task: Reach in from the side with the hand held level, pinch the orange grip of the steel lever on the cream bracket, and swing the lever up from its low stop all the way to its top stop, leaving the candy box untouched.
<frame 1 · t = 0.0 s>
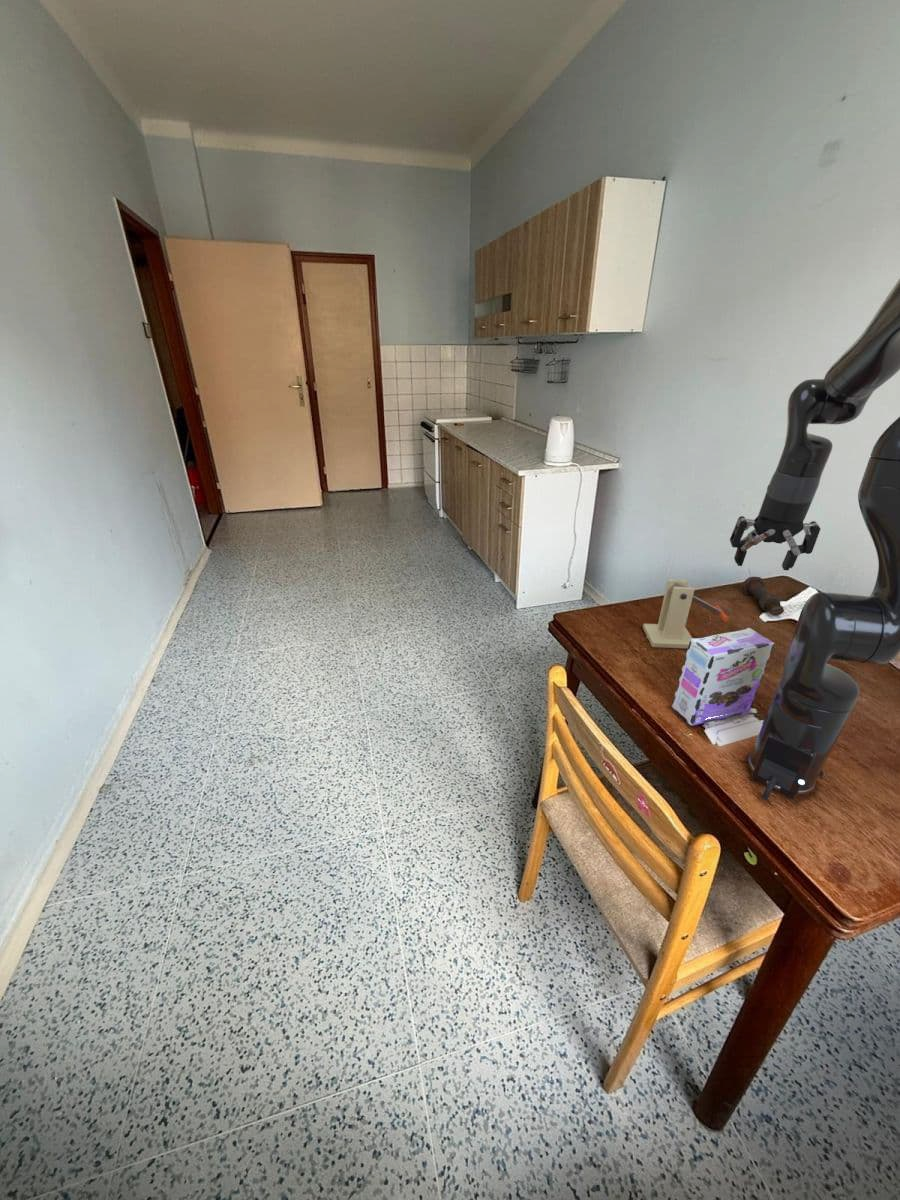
hand: (761, 566, 99), 22 cm above the table, tool pointing down, fingers open, 8 cm apart
candy box: (709, 710, 93), on the table
lever: (699, 601, 110), point 10 cm above the table, hinge at -28.0°
bracket: (668, 637, 116), on the table
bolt: (760, 605, 129), on the table
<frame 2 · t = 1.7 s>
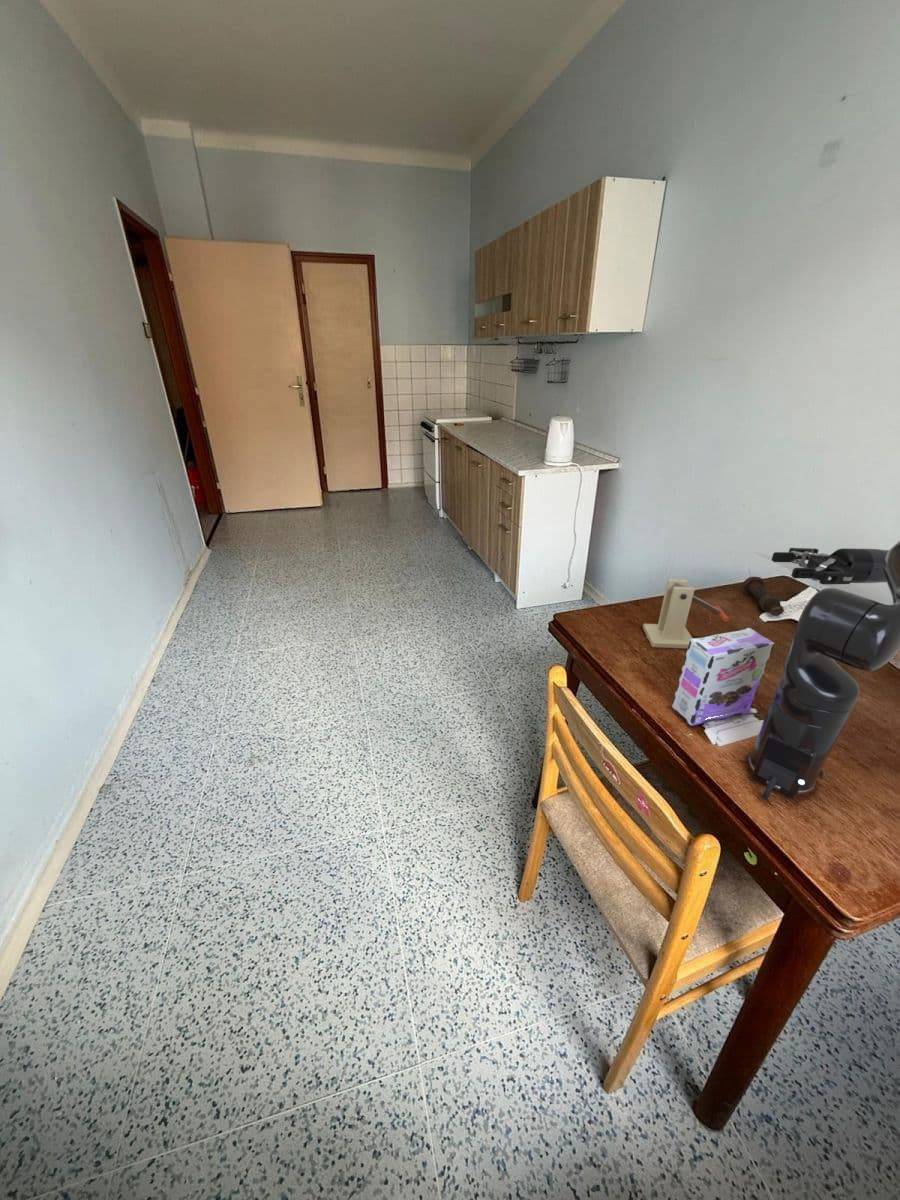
hand: (782, 564, 104), 20 cm above the table, tool horizontal, fingers open, 8 cm apart
nothing on the table moved.
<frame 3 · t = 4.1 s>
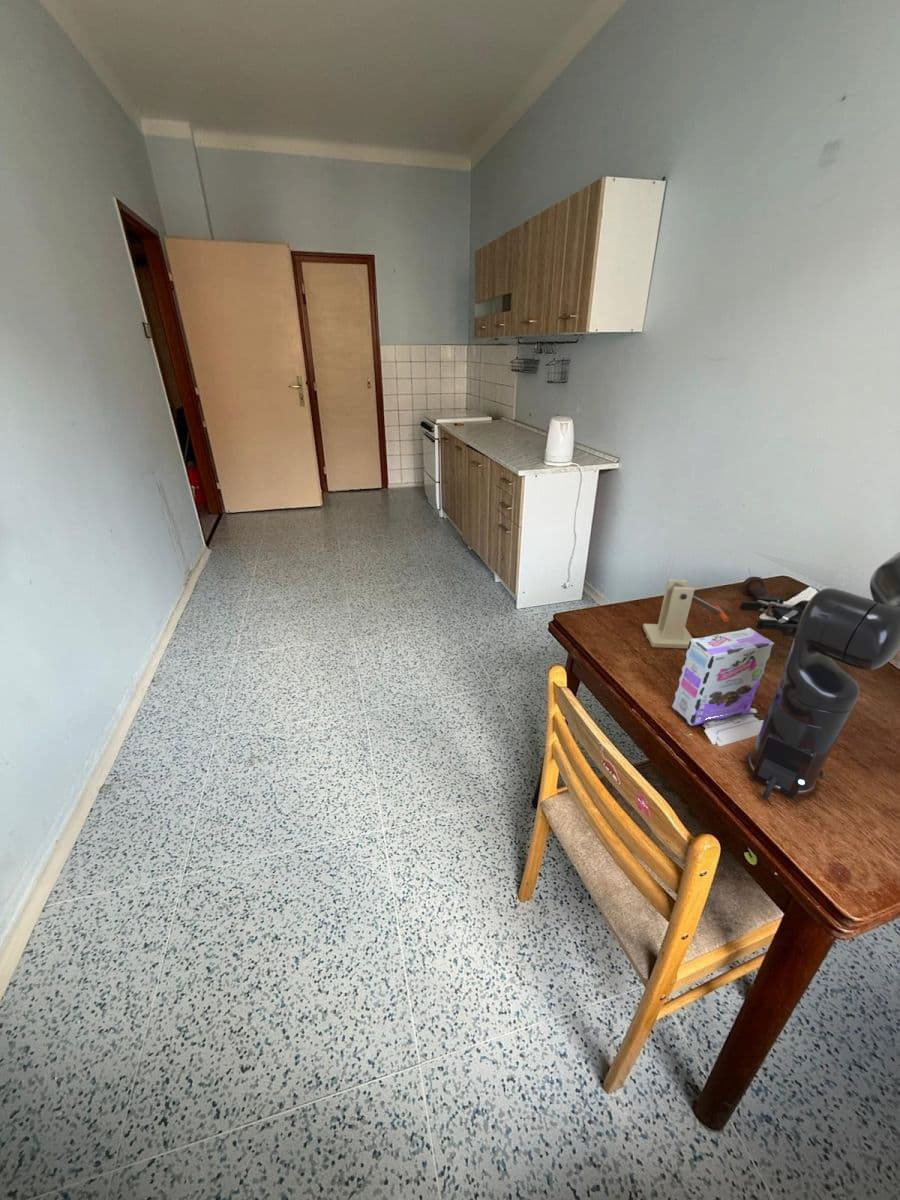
hand: (749, 614, 111), 7 cm above the table, tool horizontal, fingers open, 8 cm apart
nothing on the table moved.
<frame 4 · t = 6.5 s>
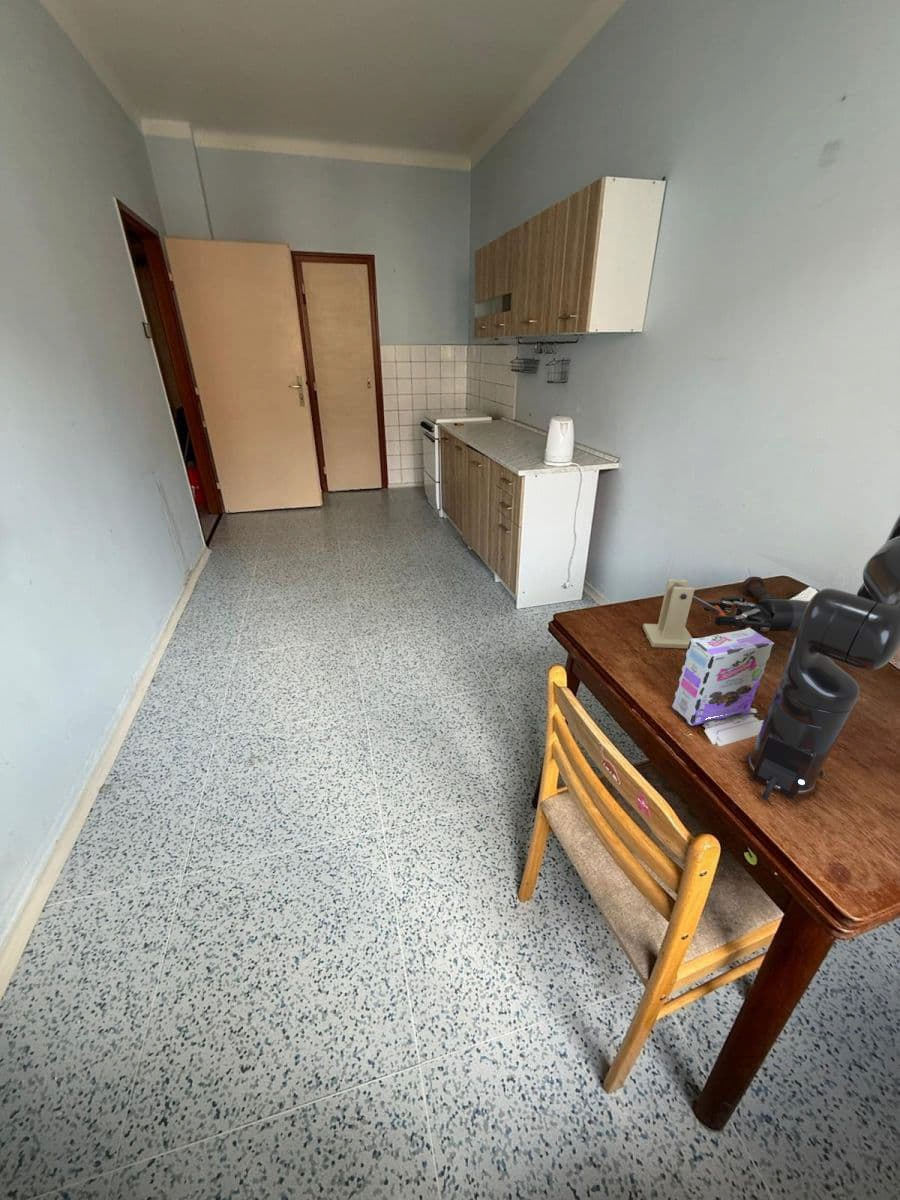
hand: (710, 613, 111), 7 cm above the table, tool horizontal, fingers closed on lever, 6 cm apart
lever: (699, 601, 110), point 10 cm above the table, hinge at -28.0°, touching gripper
everything else where it was.
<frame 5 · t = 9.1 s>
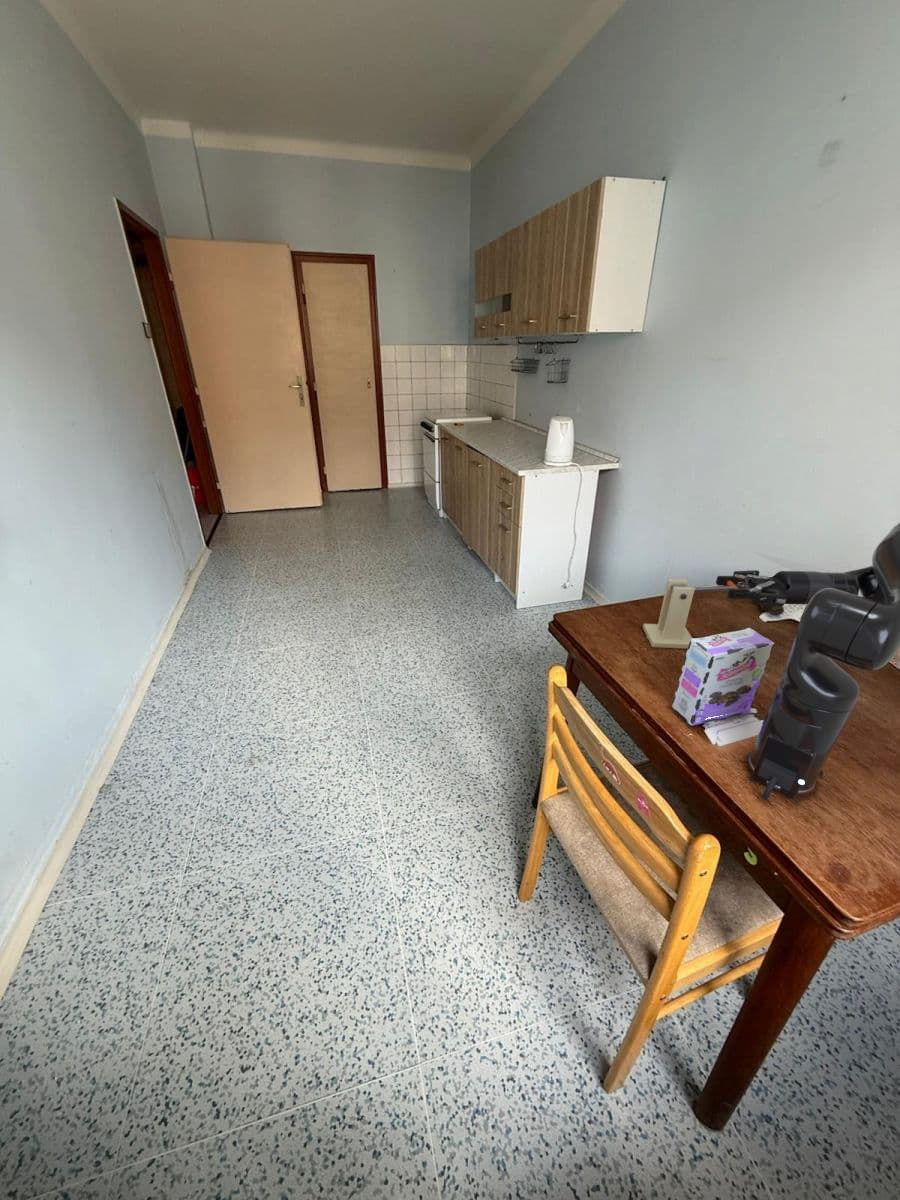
hand: (722, 586, 108), 14 cm above the table, tool horizontal, fingers closed on lever, 6 cm apart
lever: (705, 589, 109), point 13 cm above the table, hinge at 4.7°, touching gripper
everything else where it was.
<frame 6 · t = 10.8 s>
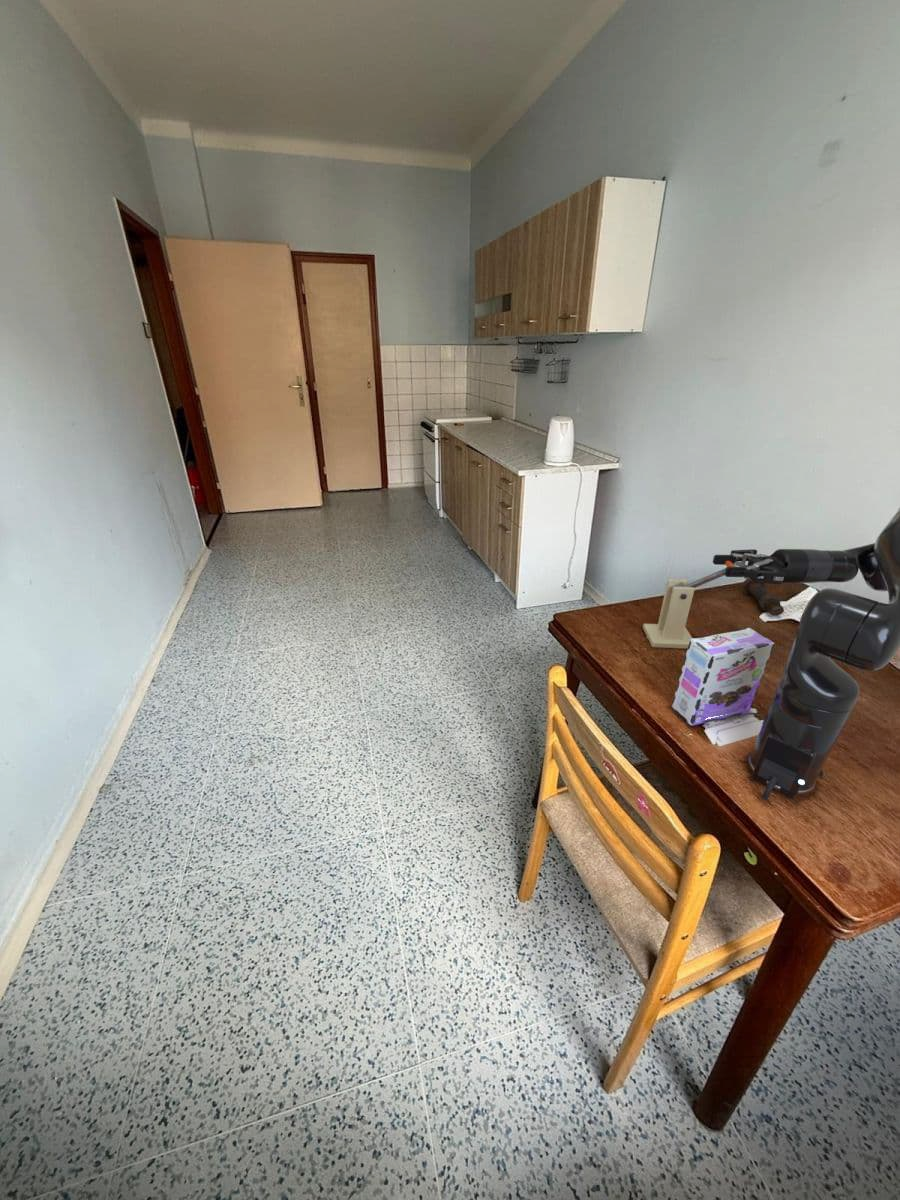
hand: (719, 565, 106), 20 cm above the table, tool horizontal, fingers closed on lever, 6 cm apart
lever: (704, 580, 108), point 16 cm above the table, hinge at 30.3°, touching gripper
everything else where it was.
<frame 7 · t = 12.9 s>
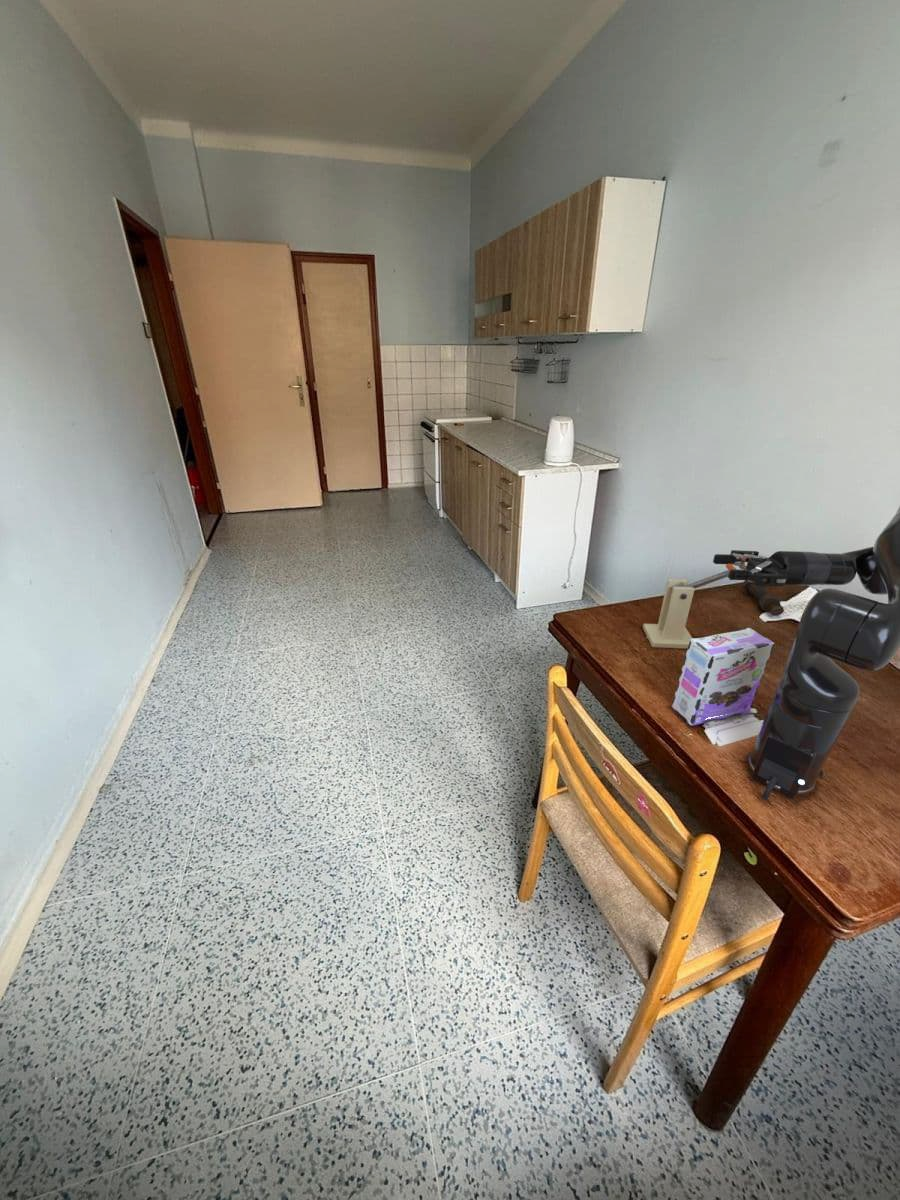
hand: (721, 566, 106), 19 cm above the table, tool horizontal, fingers open, 8 cm apart
lever: (704, 581, 108), point 15 cm above the table, hinge at 26.5°
everything else where it was.
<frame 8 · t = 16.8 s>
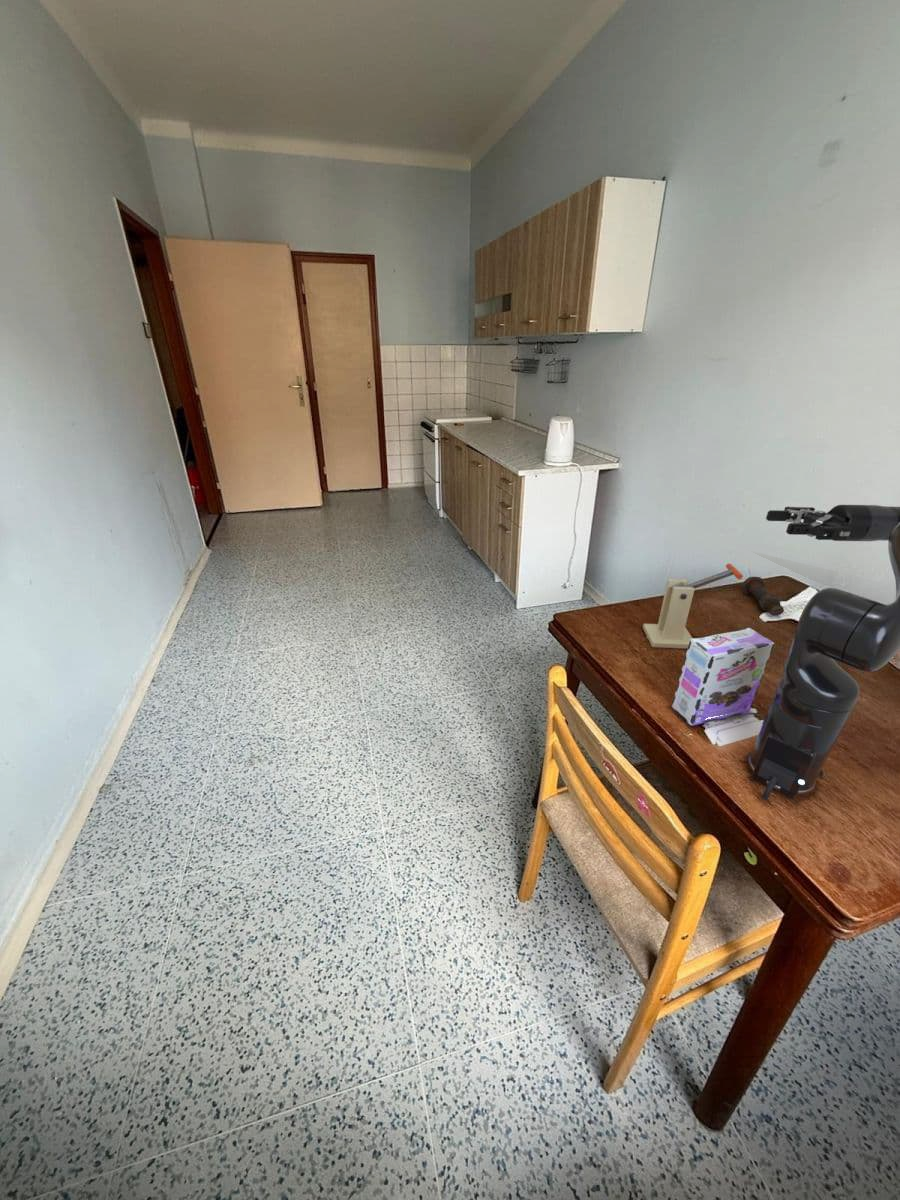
hand: (777, 521, 100), 30 cm above the table, tool horizontal, fingers open, 8 cm apart
nothing on the table moved.
at the end: lever at +26° (first picture: -28°); candy box moved 0.2 cm from its start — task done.
